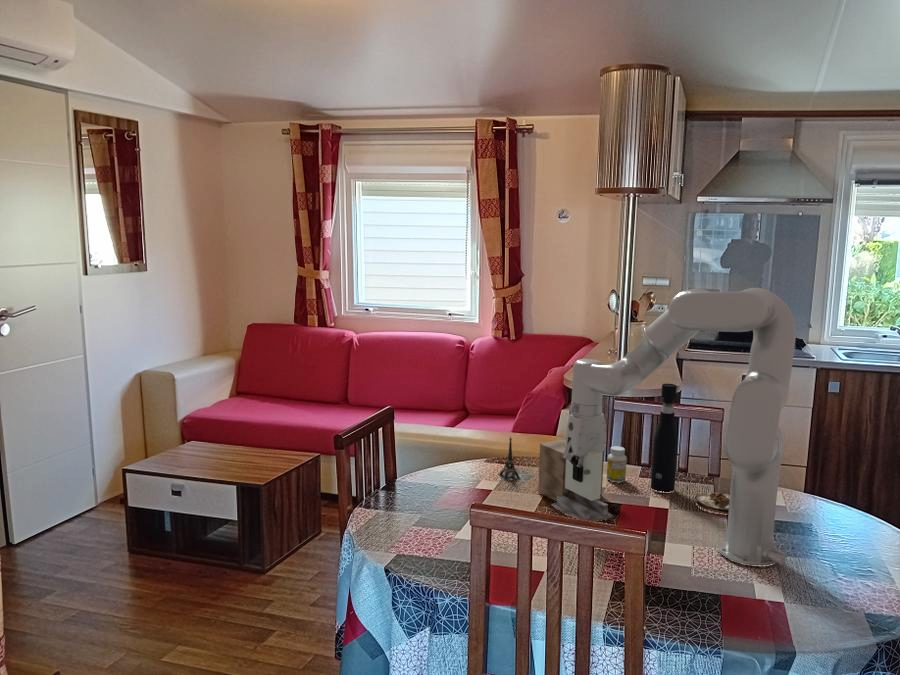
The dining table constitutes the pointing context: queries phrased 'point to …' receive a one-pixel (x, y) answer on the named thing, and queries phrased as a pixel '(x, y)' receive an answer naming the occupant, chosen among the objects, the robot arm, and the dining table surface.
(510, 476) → the eiffel tower figurine
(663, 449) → the black water bottle
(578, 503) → the cabinet
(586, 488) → the door panel
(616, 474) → the supplement bottle
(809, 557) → the dining table surface
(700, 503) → the plate of food
